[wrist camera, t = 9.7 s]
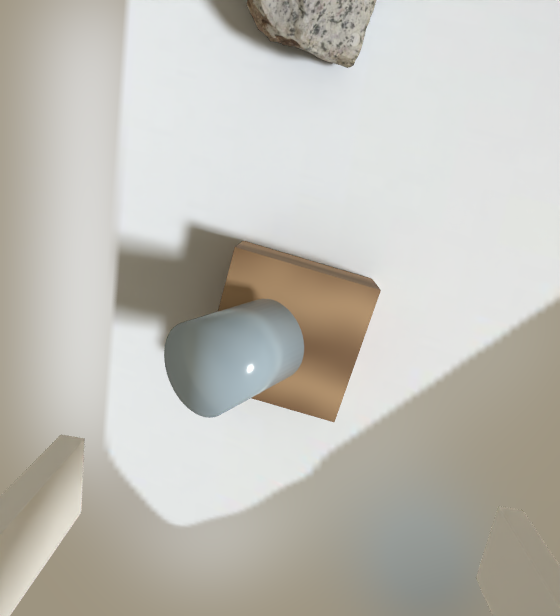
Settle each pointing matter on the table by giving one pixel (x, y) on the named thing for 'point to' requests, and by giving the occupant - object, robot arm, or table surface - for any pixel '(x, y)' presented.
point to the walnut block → (307, 321)
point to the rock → (316, 25)
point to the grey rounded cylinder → (232, 355)
